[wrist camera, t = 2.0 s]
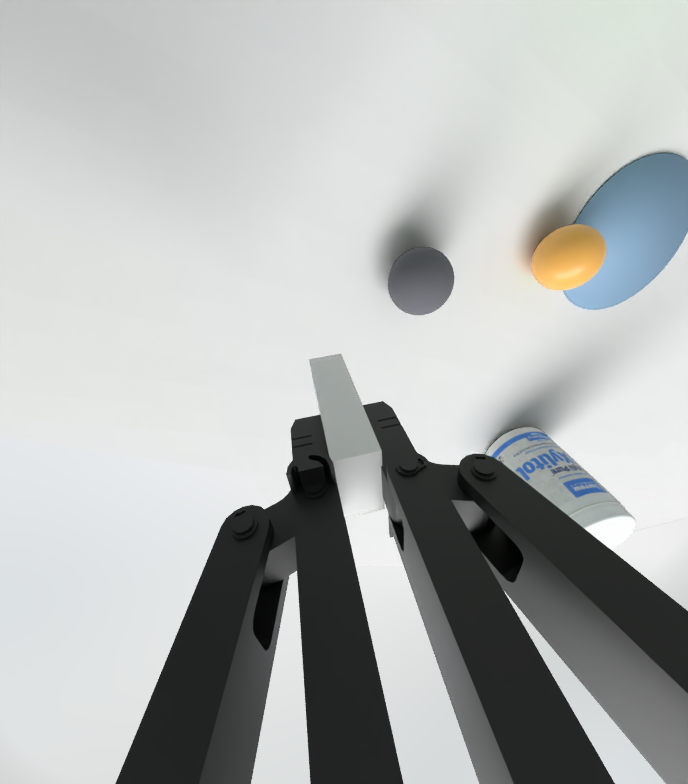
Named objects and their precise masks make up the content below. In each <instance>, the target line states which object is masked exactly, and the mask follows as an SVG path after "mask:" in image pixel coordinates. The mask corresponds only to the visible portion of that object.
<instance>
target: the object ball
mask: <svg viewBox="0 0 688 784" xmlns="http://www.w3.org/2000/svg"><path fill="white" fill-rule="evenodd" d="M606 251H607V249H606V242H605V240H604V237H603V236H602V234H601V233H600V232H599V231H598V230H596V229H595V228H593V227H591V226H588V225H583V224H572V225H567V226H564V227H561V228H559V229H557V230H555V231H553V232H551V233H550V234H549V235H547V236H546V237H545V238H544V239H543V240H542V241H541V242H540V243H539V245H538V246H537V248H536V250H535V252H534V254H533V257H532V261H531V268H532V273H533V276H534V278H535V279H536V280H537V282H538V283H539V284H541V285H542V286H544V287H546V288H548V289H552V290H560V291H561V290H569V289H573V288H576V287H578V286H581V285H583V284H584V283H586V282H587V281H589V280H590V279H591V278H593V277H594V276H595V275H596V273H597V272H598V271H599V270H600V268H601V267H602V265H603V263H604V260H605V257H606Z"/></svg>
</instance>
